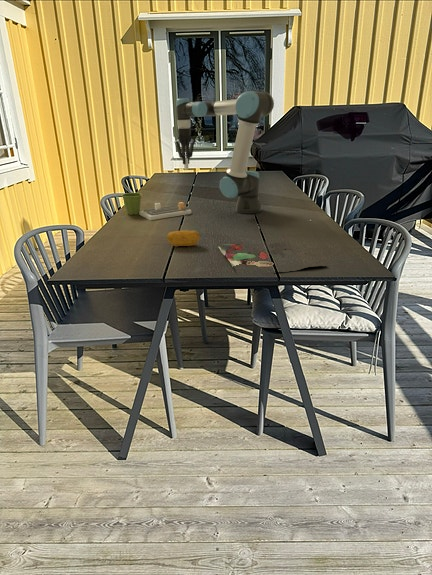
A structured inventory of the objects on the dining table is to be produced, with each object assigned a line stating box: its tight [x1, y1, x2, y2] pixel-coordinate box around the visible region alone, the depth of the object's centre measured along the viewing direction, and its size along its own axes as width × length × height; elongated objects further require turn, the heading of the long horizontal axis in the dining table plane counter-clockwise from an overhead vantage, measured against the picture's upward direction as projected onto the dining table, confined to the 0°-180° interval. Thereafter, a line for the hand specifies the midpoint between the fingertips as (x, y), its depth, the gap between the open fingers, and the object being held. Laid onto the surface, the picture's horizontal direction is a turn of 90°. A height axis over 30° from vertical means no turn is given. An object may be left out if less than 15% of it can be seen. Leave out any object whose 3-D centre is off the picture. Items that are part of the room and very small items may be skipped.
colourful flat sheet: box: [217, 243, 274, 268], centre depth 162 cm, size 35×35×2 cm
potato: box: [166, 229, 200, 247], centre depth 177 cm, size 7×14×7 cm, turn 88°
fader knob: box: [177, 201, 186, 210], centre depth 232 cm, size 3×2×4 cm
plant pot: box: [120, 192, 143, 216], centre depth 233 cm, size 12×12×11 cm
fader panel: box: [138, 202, 192, 221], centre depth 231 cm, size 16×26×6 cm, turn 121°
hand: (186, 169), depth 240 cm, fingers closed
